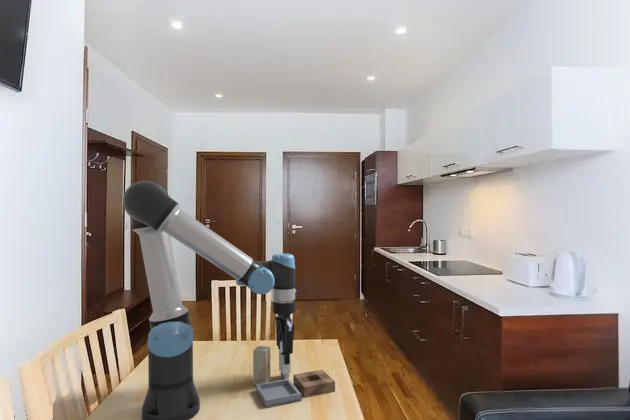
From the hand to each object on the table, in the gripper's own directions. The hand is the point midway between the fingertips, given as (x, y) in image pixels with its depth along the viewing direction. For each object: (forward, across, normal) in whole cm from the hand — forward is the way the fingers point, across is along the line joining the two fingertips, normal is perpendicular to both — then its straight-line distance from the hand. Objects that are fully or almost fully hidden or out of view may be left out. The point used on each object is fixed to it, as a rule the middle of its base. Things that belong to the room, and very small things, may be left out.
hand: (284, 371), depth 136 cm
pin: (+2, 0, 0) cm, 2 cm away
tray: (+2, -12, +6) cm, 14 cm away
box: (+2, -1, +8) cm, 8 cm away
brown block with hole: (+2, -11, -6) cm, 13 cm away
